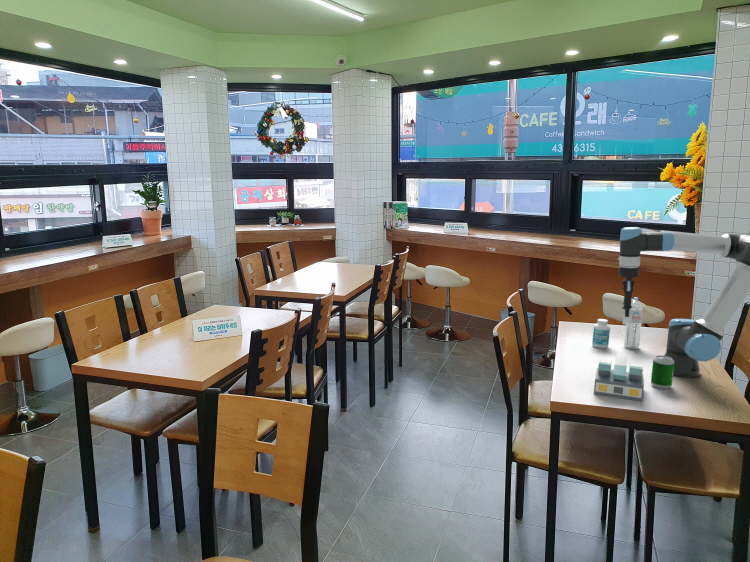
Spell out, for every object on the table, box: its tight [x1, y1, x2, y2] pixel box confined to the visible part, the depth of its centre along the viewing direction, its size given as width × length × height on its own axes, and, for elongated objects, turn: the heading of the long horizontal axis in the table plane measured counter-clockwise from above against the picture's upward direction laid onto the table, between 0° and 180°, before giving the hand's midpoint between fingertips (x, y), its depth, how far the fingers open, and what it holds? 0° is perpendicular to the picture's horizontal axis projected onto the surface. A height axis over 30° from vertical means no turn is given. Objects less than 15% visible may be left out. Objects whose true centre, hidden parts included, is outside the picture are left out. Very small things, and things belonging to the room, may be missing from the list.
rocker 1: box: [597, 359, 613, 372], centre depth 223 cm, size 4×12×2 cm, turn 156°
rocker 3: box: [628, 363, 644, 376], centre depth 218 cm, size 4×12×2 cm, turn 156°
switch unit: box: [593, 367, 645, 402], centre depth 221 cm, size 17×14×8 cm
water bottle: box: [623, 296, 644, 350], centre depth 277 cm, size 7×7×25 cm
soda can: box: [650, 355, 674, 390], centre depth 227 cm, size 8×8×12 cm
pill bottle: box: [591, 318, 611, 349], centre depth 279 cm, size 8×7×14 cm
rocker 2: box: [613, 354, 628, 381], centre depth 221 cm, size 4×12×2 cm, turn 156°
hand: (626, 323), depth 231 cm, fingers closed
